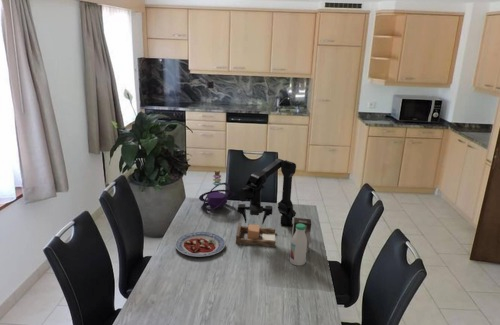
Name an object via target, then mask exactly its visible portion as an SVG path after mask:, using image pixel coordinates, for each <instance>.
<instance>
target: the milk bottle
mask: <svg viewBox="0 0 500 325" xmlns="http://www.w3.org/2000/svg"><path fill="white" fill-rule="evenodd" d="M305 228H306V226H305V225H304V224H301V223H299V224H296V232H295V234H294V235H293V237H292V236H291V240H292V242H291V241H290V251H289V252H290V253H289V263H291V265H294V266H298V267H299V266H303V265H305V263H306V260H307V259H306V258H307V252H306V250H307V238H306V235H305Z"/></svg>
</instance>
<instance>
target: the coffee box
mask: <svg viewBox="0 0 500 325" xmlns="http://www.w3.org/2000/svg"><path fill="white" fill-rule="evenodd" d="M299 223H301V224H304V225H305V226H306V228H305V235H306V238H307V250H306V253H307V252H309V247H310V239H311V238H310V237H311V230H312V220H311V218H303V217H296V216H294V217H293V220H292V229H291V230H292V231H291V232H292V234H291V238H292V237H293V235H294V234H295V232H296V224H299ZM291 242H292V239H291V241H290V243H291Z"/></svg>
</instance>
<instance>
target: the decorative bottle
mask: <svg viewBox="0 0 500 325" xmlns="http://www.w3.org/2000/svg"><path fill="white" fill-rule="evenodd" d="M220 172H221V170H217V169H216V170H214V175H213V176H212V177H213V178H212V180H213V182H212V185H213V186H214V187H213V188H211V190H209V191H206V192H205V193H204V192H203V193H202V194H201V195H200V196H199V197H198V200H200V202H201V201H202V202H203V209H204V210H205V211H208V212H210V211H214V210H219V209H221V208H223V207H224V206H225V205H227V203H228V200H229V199H232V198H233V197H234V196H235V192H234V191H233V190H230V189H231V188H230V184H229V183H227V182H222V175H221V174H220ZM222 185H224V186H226V187H227V189H216V188H217V187H219V186H222ZM214 189H215V190H214ZM204 197H205V198H204ZM206 204H207V205H208V206H209V207H210V208H208V207H207V206H206Z"/></svg>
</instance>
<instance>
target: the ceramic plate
mask: <svg viewBox="0 0 500 325" xmlns="http://www.w3.org/2000/svg"><path fill="white" fill-rule="evenodd" d="M225 246H226V241H225V240H224V238H223V236H220V235H218V234H216V233H214V232H207V231H194V232H189V233H186V234H183V235H181V236H180V237H178V238H177V239H176V241H175V243H174V247H175V248H176V250H177V251H178V252H179V253H180V254H183V255H186V256H189V257H197V258H198V257H200V258H201V257H209V256H214V255H217V254H218V253H220V252H221V251H223V250H224V249H225Z"/></svg>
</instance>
